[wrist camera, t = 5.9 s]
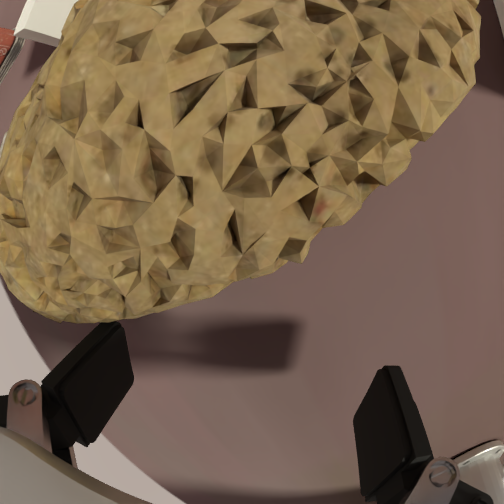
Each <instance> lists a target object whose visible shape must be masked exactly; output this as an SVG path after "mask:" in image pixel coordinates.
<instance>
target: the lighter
mask: <svg viewBox="0 0 504 504" xmlns="http://www.w3.org/2000/svg"><path fill="white" fill-rule="evenodd" d="M15 29H16V28H14V29H12V30H10V29H5V28H0V84H1V82H2V81H3V79H4V77H5V76H6V74H7V73H8V71H9V69H10V67H11V66H12V64H13V62H14V61H15V59H16V57H17V56H18V54H19V53H20V51H21V49H22V47H23V45H24V42H25V38H21V37H16V36H13V35H14V32H15Z"/></svg>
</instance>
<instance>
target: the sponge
mask: <svg viewBox="0 0 504 504" xmlns="http://www.w3.org/2000/svg"><path fill="white" fill-rule="evenodd" d="M478 3H479V0H78V1H77V2H76V3H74V5H73V7H72V9H71V11H70V13H69V15H68V17H67V19H66V22H65V24H64V26H63V28H62V31H61V33H62V35H61V38H60V41H59V44H58V47H57V48H56V49H55V50H54V52H53V53H52V54H51V56H50V57H49V58H48V60H47V61H46V62H45V64H44V65H43V66H42V68H41V70H40V71H39V73H38V75H37V77H36V79H35V81H34V83H33V85H32V87H31V89H30V91H29V93H28V94H27V96H26V97H25V98H24V100H23V101H22V102H21V104H20V105H19V106H18V108H17V109H16V111H15V113H14V116H13V119H12V122H11V125H10V128H9V130H8V132H6V133H5V135H4V138H3V141H2V144H1V147H0V273H1V275H2V276H3V278H4V280H5V282H6V284H7V287H8V289H9V290H10V291H11V292H12V293H13V294H14V295H15V296H16V297H17V298H18V299H19V300H20V301H21V302H22V303H24V305H25V306H27V307H29V308H30V309H32V310H33V312H37V313H39V314H41V315H42V316H44V317H46V318H48V319H51V320H53V321H56V322H59V323H61V322H62V321H67V322H72V323H96V322H106V323H108V322H113V321H117V320H122V319H134V318H139V317H142V316H145V315H148V314H151V313H158V312H161V311H164V310H168V309H171V308H174V307H177V306H180V305H183V304H187V303H191V302H195V301H199V300H203V299H207V298H211V297H213V296H215V295H216V294H217V293H219V292H220V291H221V290H223V289H224V288H226V287H227V286H228V285H230V284H231V283H232V282H235V281H239V280H242V279H246V278H249V277H250V278H251V279H253V278H257V277H260V276H264V275H267V274H271V273H273V272H274V271H276V270H277V269H279V268H280V267H281V266H283V265H284V264H286V263H287V262H288V261H292V262H296V263H300V264H302V262H303V261H304V259H305V257H306V256H307V254H308V251H309V247H310V242H311V240H312V239H313V238H314V237H315V236H316V235H317V234H318V233H319V232H320V230H321V229H322V228H326V227H332V226H339V225H344V224H345V223H346V222H347V221H348V220H349V219H350V218H351V217H352V216H353V215H354V214H355V213H356V212H357V211H358V210H359V209H360V208H361V207H362V203H363V201H364V200H365V199H366V198H367V197H368V195H369V194H370V193H371V192H372V191H374V190H375V189H376V188H377V187H378V186H379V185H383V186H388V185H389V184H390V183H392V182H393V181H394V180H395V179H396V178H397V177H398V176H399V175H401V174H402V173H403V172H404V171H405V170H406V169H407V168H408V165H409V163H410V161H411V154H410V151H409V150H410V149H411V148H413V147H414V146H415V145H416V144H417V143H418V141H424V142H425V141H426V140H427V139H428V138H429V137H430V136H432V135H433V134H434V132H435V131H436V130H437V129H438V128H439V127H440V125H441V124H442V123H443V122H444V121H445V120H446V118H447V117H448V116H449V115H450V114H451V113H452V112H453V111H454V110H455V109H456V108H457V106H458V105H459V104H460V102H461V101H462V100H463V98H464V97H465V96H466V94H467V93H468V92H469V91H470V90H471V88H472V87H473V86H474V85H475V83H476V78H475V70H474V64H475V63H476V62H477V61H478V59H479V58H480V34H479V30H480V24H481V16H480V15H479V13H478V12H477V11H476V10H475V9H476V8H477V6H478Z"/></svg>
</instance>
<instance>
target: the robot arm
mask: <svg viewBox="0 0 504 504" xmlns="http://www.w3.org/2000/svg"><path fill="white" fill-rule="evenodd" d="M133 382H134V375H133V371H132V366H131V362H130V357H129V352H128V347H127V342H126V336H125V331H124V328H123V327H121V324H120V323H119V322H116V321H113V322H108V323H106V322H101V323H100V324H99V325H98V326H97V327H96V328H95V329H94V330H93V331H92V332H90V333H89V334H88V335H87V336H86V337H85V338H84V339H83V340H82V341H81V342H80V343H79V344H78V345H77V346H76V347H75V348H74V349H73V350H72V351H71V352H70V353H69V354H68V355H67V356H66V357H65V358H64V359H63V360H62V361H61V362H60V363H59V364H58V365H57V366H56V367H55V368H54V369H53V370H52V371H51V372H50V373H49V374H48V375H47V376H46V377H45V378H44V379H43V380H42V385H41V386H39V384H37V383H36V382H35V381H32V380H21V381H19V382H17V383H15V384H14V385H13V386H12V388H11V389H10V392H9V395H5V396H4V395H3V396H0V504H152V503H149V502H147V501H144V500H141V499H139V498H136V497H134V496H131V495H129V494H127V493H124V492H122V491H120V490H118V489H115V488H113V487H111V486H109V485H107V484H105V483H103V482H101V481H99V480H97V479H95V478H93V477H91V476H89V475H88V474H86V473H84V472H82V471H80V470H79V469H78V468H77V463H76V459H75V454H74V449H73V444H74V443H75V442H78V443H80V444H82V445H84V446H85V447H88V445H89V444H90V443H93V442H94V441H96V439H97V437H98V436H99V434H100V433H101V431H102V430H103V428H104V427H105V425H106V424H107V422H108V421H109V419H110V418H111V416H112V415H113V413H114V412H115V410H116V408H117V407H118V405H119V404H120V402H121V401H122V399H123V398H124V396H125V395H126V393H127V392H128V390H129V389H130V388H131V386H132V384H133ZM353 425H354V433H355V440H356V449H357V457H358V467H359V477H360V488H361V494H362V496H365V501H366V502H370V501H377V504H504V483H503V479H504V465H501V462H500V460H499V458H500V456H501V455H502V453H503V452H504V445H503V442H502V441H499V440H496V441H491V442H489V443H486V444H483V445H481V446H479V447H477V448H475V449H473V450H471V451H468V452H467V453H465V454H463V455H461V456H459V457H457V458H455V459H454V460H452V459H450V458H447V457H438V458H435V459H434V457H433V454H432V450H431V447H430V444H429V441H428V438H427V434H426V431H425V428H424V425H423V423H422V420H421V417H420V414H419V411H418V408H417V406H416V403H415V402H414V400H413V398H412V395H411V392H410V390H409V387H408V385H407V382H406V380H405V377H404V375H403V372H402V370H401V368H400V366H384V367H383V368H382V369H379V370H378V371H377V373H376V375H375V377H374V379H373V381H372V383H371V385H370V387H369V389H368V391H367V393H366V395H365V397H364V399H363V401H362V403H361V404H360V406H359V408H358V410H357V412H356V413H355V415H354V419H353Z"/></svg>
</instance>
